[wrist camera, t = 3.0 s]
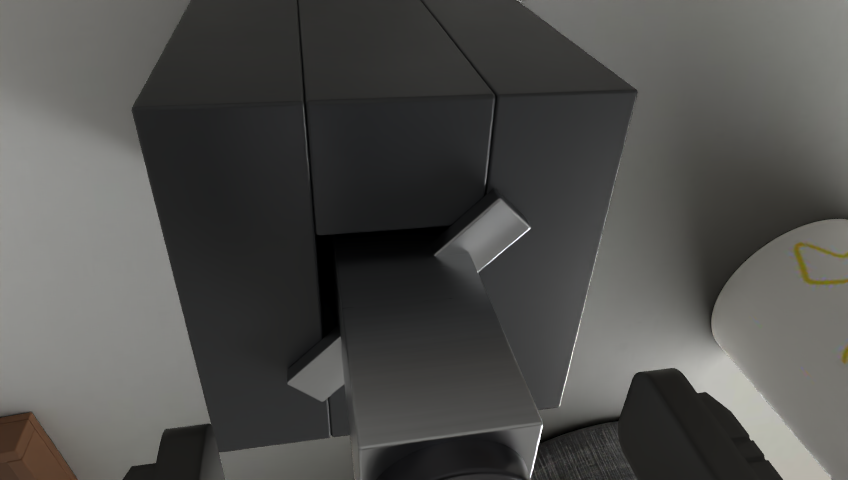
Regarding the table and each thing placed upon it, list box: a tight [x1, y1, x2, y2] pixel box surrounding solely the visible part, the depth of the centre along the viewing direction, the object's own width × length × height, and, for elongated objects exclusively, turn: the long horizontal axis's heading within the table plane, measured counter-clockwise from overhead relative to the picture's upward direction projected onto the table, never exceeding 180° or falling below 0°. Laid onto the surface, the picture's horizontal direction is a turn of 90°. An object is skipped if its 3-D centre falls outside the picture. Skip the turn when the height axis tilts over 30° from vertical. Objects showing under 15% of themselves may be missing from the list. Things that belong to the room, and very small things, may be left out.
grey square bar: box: [287, 189, 543, 480], centre depth 16 cm, size 6×6×15 cm
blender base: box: [131, 0, 638, 452], centre depth 20 cm, size 10×10×14 cm
